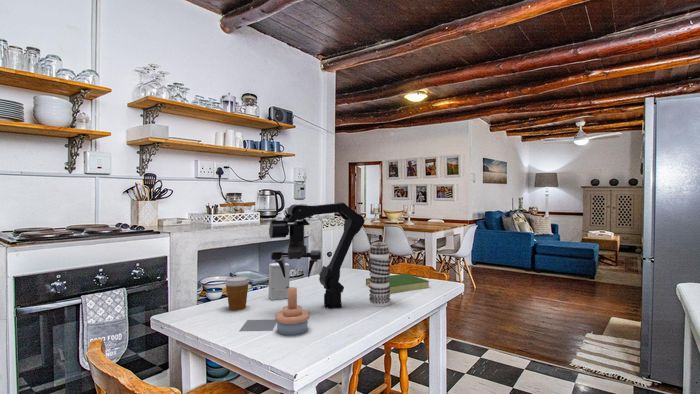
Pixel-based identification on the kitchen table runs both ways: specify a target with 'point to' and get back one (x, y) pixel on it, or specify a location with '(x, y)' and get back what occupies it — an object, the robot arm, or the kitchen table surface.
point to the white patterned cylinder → (379, 274)
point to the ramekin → (292, 328)
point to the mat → (259, 325)
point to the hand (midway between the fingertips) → (296, 277)
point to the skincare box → (278, 281)
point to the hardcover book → (404, 283)
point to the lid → (292, 310)
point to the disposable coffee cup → (237, 292)
